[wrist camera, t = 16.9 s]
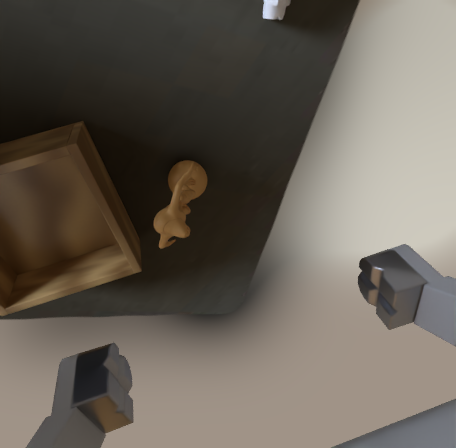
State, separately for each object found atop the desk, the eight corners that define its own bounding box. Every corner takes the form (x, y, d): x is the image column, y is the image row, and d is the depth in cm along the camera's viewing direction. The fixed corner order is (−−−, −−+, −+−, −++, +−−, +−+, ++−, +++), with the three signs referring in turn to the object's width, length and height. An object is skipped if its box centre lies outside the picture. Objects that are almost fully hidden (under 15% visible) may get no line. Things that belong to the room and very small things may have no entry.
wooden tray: (15, 278, 38) (1, 316, 34) (-82, 166, 29) (-118, 198, 25) (140, 239, 39) (141, 271, 35) (83, 120, 30) (76, 142, 26)
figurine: (192, 207, 39) (214, 279, 29) (139, 198, 36) (144, 274, 27) (213, 139, 34) (247, 198, 25) (155, 125, 32) (168, 183, 23)
